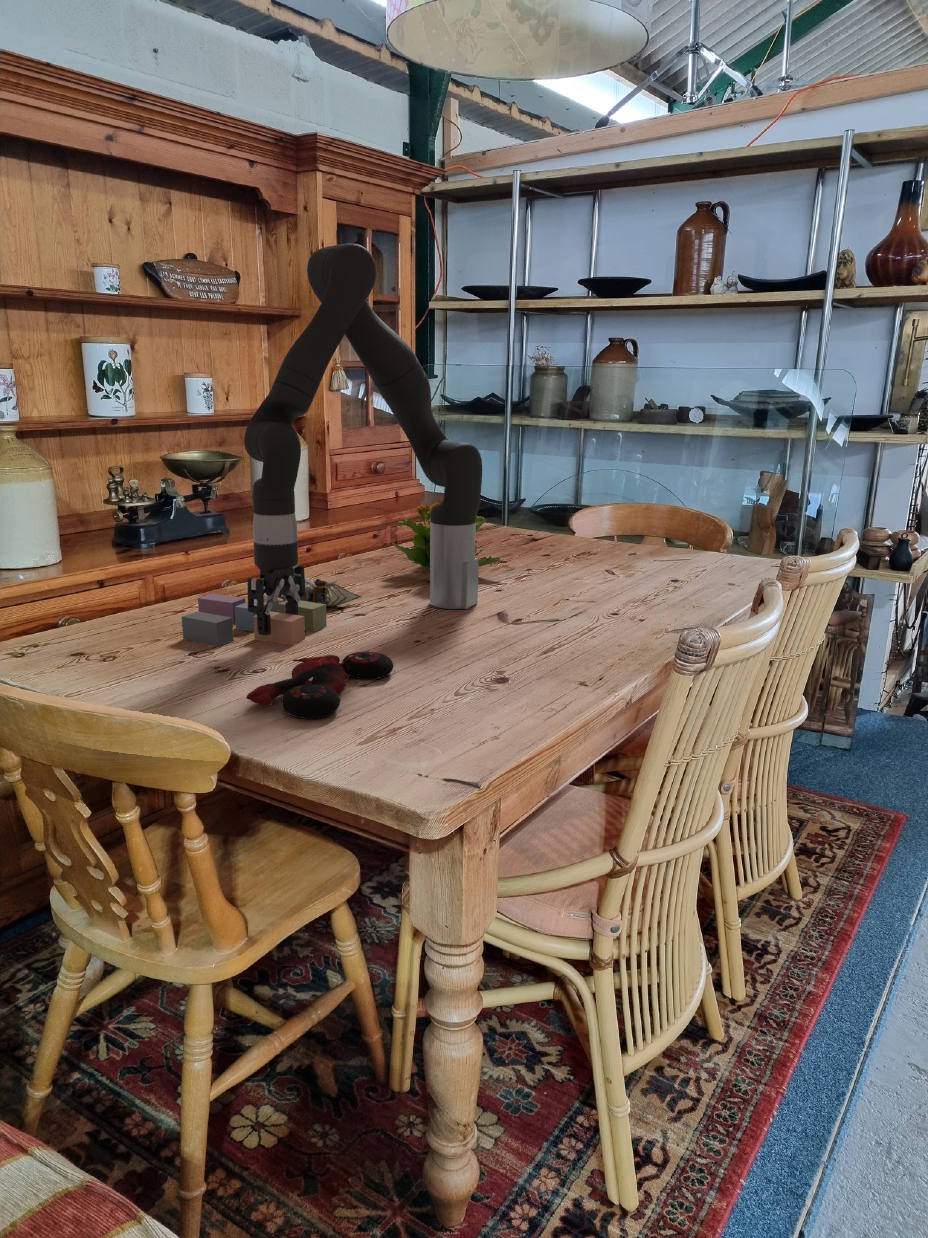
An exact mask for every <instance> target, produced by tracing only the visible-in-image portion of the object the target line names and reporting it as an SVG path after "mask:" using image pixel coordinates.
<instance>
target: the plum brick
mask: <svg viewBox="0 0 928 1238" xmlns="http://www.w3.org/2000/svg"><path fill="white" fill-rule="evenodd" d="M246 602H247V601H246V597H239V596H234V595H226V594H219V593H209V594H206V595H202V596H199V597H197V604H198V605H197V607H198V612H204V613H209V614H215V615H220V616H226V617H231V618H232V623H233V625H236V620H235V606H238V605H240V604H243V603H246Z"/></svg>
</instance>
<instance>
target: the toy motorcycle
mask: <svg viewBox="0 0 928 1238" xmlns="http://www.w3.org/2000/svg"><path fill="white" fill-rule="evenodd" d="M292 661H293V662H299V664H297V665H295V666H294V667H293V668H292V670H291V677H290V678H286V679H284V680H283V679H282V680H278V681H276V682H273V683H266V684H262V685H260V686H258V687H256V688H255V689H253V690H252V691H250V692H248V693H247V694H246V699H247V700H249V701H250V702H253V703H254V704H255V703H256V704H258V705H262V706H271V705H272V704H273V701H274V700H276V698H278V697H280V696H282V699H281V706H282V709H283V710H284V712H286V713H287V714H288V715H290V716H293V717H296V718H300V719H312V720H313V719H319V718H320V719H321V718H324V717H327V716H330V715H331V714H333V713H336V711H338V708H339V706H340V703H341V698H340V694H342V692H343V691H344V690H345V687H346V683H345V682H346V681H347V680H348V679H349V678H350V677H353V678H356V679H361V680H362V679H363V680H364V679H365V680H374V679H382V678H384V677H387V676H388V675H390V674H391V673H392V671H393V669H394V661H393V660H392V659H391V658H390V657H389V656H388V655H386V654H384V653H381V652H377V651H375V652H373V651H357V652H356V651H355V652H353V653H350V654H348V655H346V656H345V657H344V658H343V659H342V660H341V659H340V657H339V656H338V655H336V654H335V655H334V654H327V655H322V656H311V657H303V658H300V659H297V658H296V659H294V660H292ZM340 661H342V662H340Z"/></svg>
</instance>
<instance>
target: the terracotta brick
mask: <svg viewBox="0 0 928 1238" xmlns="http://www.w3.org/2000/svg"><path fill="white" fill-rule="evenodd" d="M278 612H279V611H278ZM278 612H271V611H270V613H269V614H270V619H271V634H269V635H267V636H266V635H260V634H259V633H258V630H257V615H255V616H253V620H254V631H253V635H254V636H253V637H254V640H257V641H258V640H259V641H265V642H270V643H271V642H272V643H279V644H282V645H283V644H285V645H291V646H294V645H295V644H298V643H299V642H302V641H304V640H306V632H305V631H306V630H305V623H304V616H300V615H292V614H285V613H278Z"/></svg>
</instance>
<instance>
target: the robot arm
mask: <svg viewBox="0 0 928 1238" xmlns="http://www.w3.org/2000/svg"><path fill="white" fill-rule="evenodd" d="M306 273H307V275H306V276H307V278H308V279H307V280H308V282H309V285H310V287H311V290H312V291H313V293H314V295H315V296H316V298H317V299H318V301H319V302H320V305H319V306H318V309H317V311H316V312H315V314H314V315H313V317H312V318H311V321H310V322H309V323H308V324H307V326H306V327H305V329H304V330H303V331H302V332H301V334H300V335H299V337H298V338H296V340H295V341H294V342H293V344H292V345H291V347H290V349H288V351H287V354H286V355H285V356H284V359H282V363H281V364H280V367H279V369H278V371H277V374H276V376H275V378H274V381H273V384H272V386H271V389H270V391H269V393H268V394H267V396H266V397H265V398H264V399H263V401H262V402H261V403H260V405H259V406H258V408H257V409H256V410H255V412H254V414H253V416H252V417H251V419H250V420H249V422H248V424H247V426H246V429H245V432H244V438H243V443H244V449H245V451H246V453H247V455H249V457H251V458H252V459H253V460H255V461H258V462H261V463H262V470H261V471H262V472H261V477H260V478H258V479H256V480H255V481H254V483H253V486H252V504H253V505H252V506H253V510H252V511H253V518H252V519H253V520H252V538H253V541H252V542H253V564H254V565H255V566H256V567H257V568H258V569H259V575H258V577H257V578H256V577H248V578H247V602H248V612H252V613H256V615H257V630H258V633H259V634H260V635H266V636H267V635H269V634H271V619H270V614H269V613H270V611H271V608H272V605H273V604H275V603H276V601H277V599H279V598H278V597H280V596H284V598H285V601H288V602H286V603H285V608H286V614H292V615H298V603H299V602H300V598H301V597H305V595H306V591H305V579H306V577H305V567H304V565H301V564H299V546H298V543H299V542H298V524H297V522H298V521H297V517H296V498H295V496H296V495H295V488H296V483H297V479H298V478H297V477H298V473H299V468H300V464H301V456H302V455H301V454H302V445H301V439H300V437H299V434H298V432H297V430H296V429H295V428H294V426H292V425H293V423H294V421H295V420H296V419H297V418H299V417H301V416H303V415H305V414H307V413H308V411H309V410H310V408H311V405H312V404H313V401H314V399H315V396H316V394H317V392H318V389H319V387H320V384H321V382H322V380H323V377H324V375H325V373H326V370H327V369H328V367H329V364H330V362H331V361H332V358H333V356H334V354H335V352H336V351H337V348H338V347H339V345H340V343H341V342H342V340H343V338H344V337H346V339H347V340H348V342H349V344H350V345H351V347H352V349H353V351H354V352H355V354H356V355H357V357H358V359H359V360H360V362H361V363H362V365H363V366H364V368H365V370H366V371H367V374H369V377H370V379H371V381H372V382H373V384H374V385H375V388H376V389H377V391H378V392H379V395H381V398H383V400H384V401H385V403H386V405H387V406H388V407H389V409H390V411H391V412H392V413H391V414H393V417H394V418H395V419H396V421H397V423H398V425H399V427H400V428H401V429H402V431H403V432H404V435H405V436H406V438H407V440H408V442H409V444H410V446H411V448H412V450H413V452H414V455H415V457H416V459H417V461H418V463H419V465H420V467H421V470H422V472H423V473H424V475H425V477H426V478H427V479H428V481H430V482H431V483H432V484H433V485H435V486H439V487H441V488H442V487H443V488H444V493H443V500H442V502H440V503H439V505H436V504H435V505H436V506H434V507H433V508H432V509H431V517H430V519H429V522H430V521H431V522H430V525H431V529H430V570H429V604H430V605H431V606H432V607H434V608H438V609H447V610H448V609H449V610H460V609H463V610H468V609H469V608H472V607H473V606H474V605H476V604H478V603H479V601H478V597H479V596H478V595H479V594H478V593H479V566H478V562H479V560H478V559H479V558H478V557H476V556H475V554H476V553H475V546H476V545H475V541H476V535H477V534H476V533H477V532H476V525H477V522H476V515H477V514H478V512H479V509H480V506H481V496H482V486H483V485H482V482H483V481H482V480H483V460H482V456H481V453H480V451H479V449H478V448H477V447H476V446H475V445H474V444H472V443H469V442H464V441H463V442H462V441H452V440H449V438H447V436H446V435H445V433H443V431H442V428H440V426H439V424H438V423H437V421H436V419H435V416H434V413H433V410H432V394H431V384H430V380H429V377H428V375H427V374H426V372H425V370H424V368H423V366H422V364H421V362H420V361H419V359H418V358H417V355H416V354H415V353H414V351H413V350H412V348H411V347H410V345H409V344H408V343H407V342H406V341H405V340H404V339H403V338H402V337H401V336H400V335H399V334H398V333H397V332H396V331H395V330H393V329H392V328H391V327H390V326H388V324H386V323H385V322H384V321H383V320H382V319H381V318H380V317H379V316H378V315H377V313H376V312H375V311H374V310H373V309H372V307H371V305H370V304H369V302H368V300H367V299H368V297H369V296H370V295H371V293H372V290H373V288H374V286H375V283H376V280H377V265H376V261H375V259H374V257H373V255H372V253H371V252H370V251H369V250H368V249H367V248H366V247H364V246H363V245H361V244H358V243H351V242H350V243H349V242H348V243H342V244H341V243H340V244H335V245H329V246H325V247H321V248H319V249H317V250H315V251H314V252H313V253H311V255H310V257H309V259H308V262H307V268H306ZM296 584H298V585H299V588H300V590H298V589H297V587H296ZM265 595H266V596H265ZM254 599H256V600H257V603H256V606H254ZM264 602H266V606H265V607H264Z"/></svg>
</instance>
